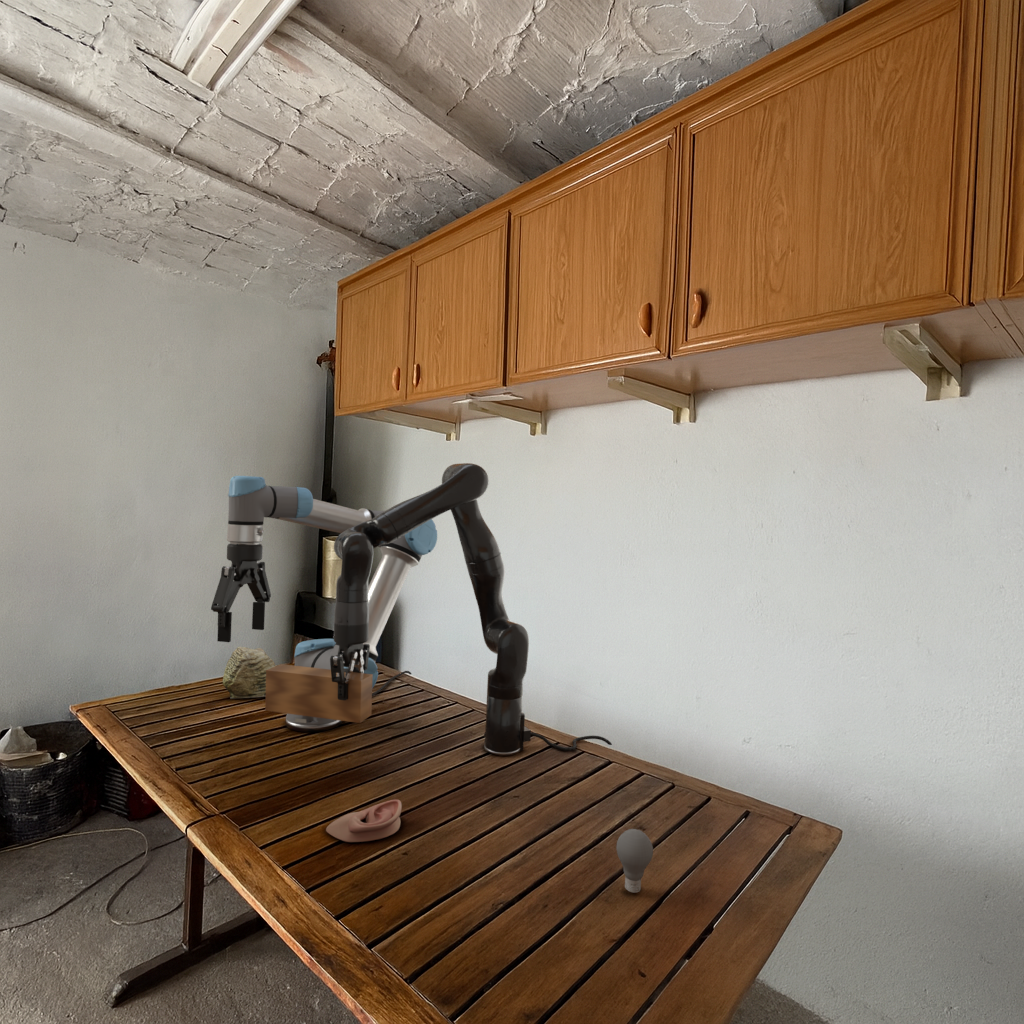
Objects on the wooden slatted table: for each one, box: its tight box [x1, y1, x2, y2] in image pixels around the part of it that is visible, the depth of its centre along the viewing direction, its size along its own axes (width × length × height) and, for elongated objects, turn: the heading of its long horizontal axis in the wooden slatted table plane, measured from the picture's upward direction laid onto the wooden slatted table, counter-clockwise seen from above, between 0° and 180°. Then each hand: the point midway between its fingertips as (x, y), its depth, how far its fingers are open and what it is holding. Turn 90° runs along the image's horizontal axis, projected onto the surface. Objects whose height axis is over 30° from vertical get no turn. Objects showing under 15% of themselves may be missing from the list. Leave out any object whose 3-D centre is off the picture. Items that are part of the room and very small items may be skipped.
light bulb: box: [615, 828, 654, 894], centre depth 106 cm, size 6×6×10 cm
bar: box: [264, 663, 373, 724], centre depth 144 cm, size 24×6×9 cm, turn 76°
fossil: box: [222, 646, 277, 699], centre depth 198 cm, size 9×18×15 cm, turn 132°
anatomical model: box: [325, 799, 403, 843], centre depth 122 cm, size 13×4×12 cm
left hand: (241, 635), depth 146 cm, fingers open, 13 cm apart
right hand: (349, 695), depth 142 cm, fingers closed on bar, 5 cm apart
